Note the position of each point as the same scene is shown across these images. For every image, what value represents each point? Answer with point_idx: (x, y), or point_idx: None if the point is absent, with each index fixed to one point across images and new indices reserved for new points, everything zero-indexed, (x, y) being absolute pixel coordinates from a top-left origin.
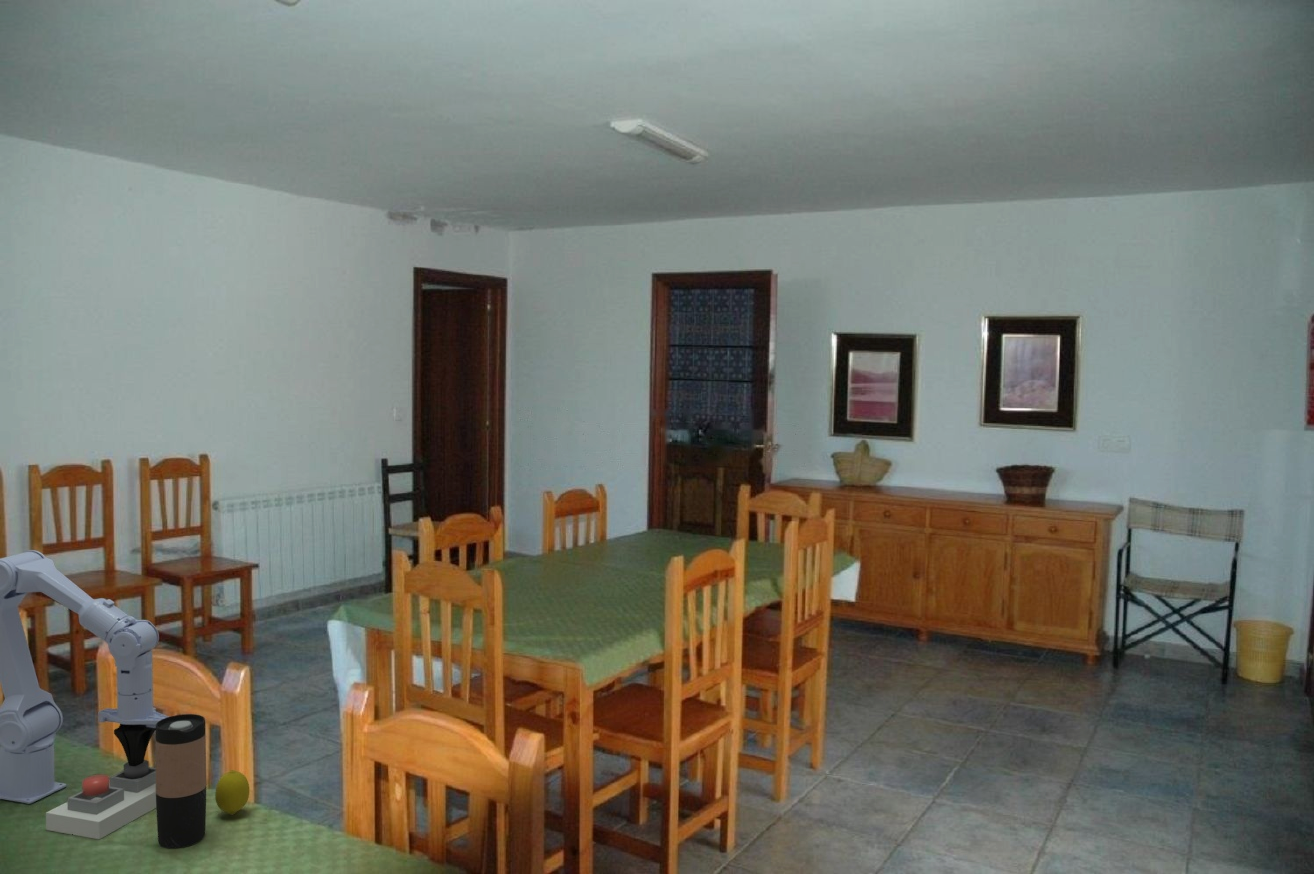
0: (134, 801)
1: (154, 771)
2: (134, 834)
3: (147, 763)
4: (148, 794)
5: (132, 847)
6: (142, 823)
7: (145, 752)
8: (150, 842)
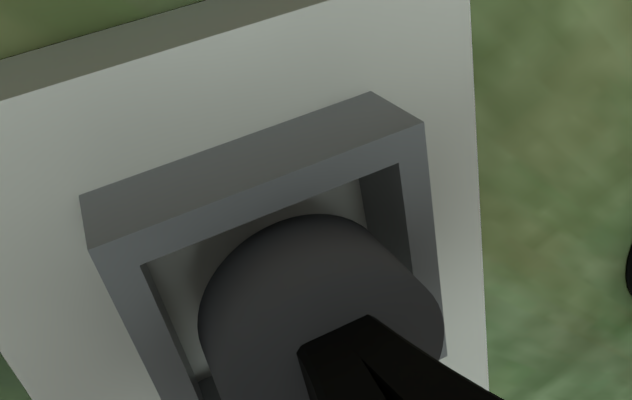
0: (477, 351)
1: (405, 195)
2: (527, 339)
3: (424, 294)
4: (476, 269)
5: (583, 370)
6: (487, 287)
7: (448, 370)
8: (613, 319)
